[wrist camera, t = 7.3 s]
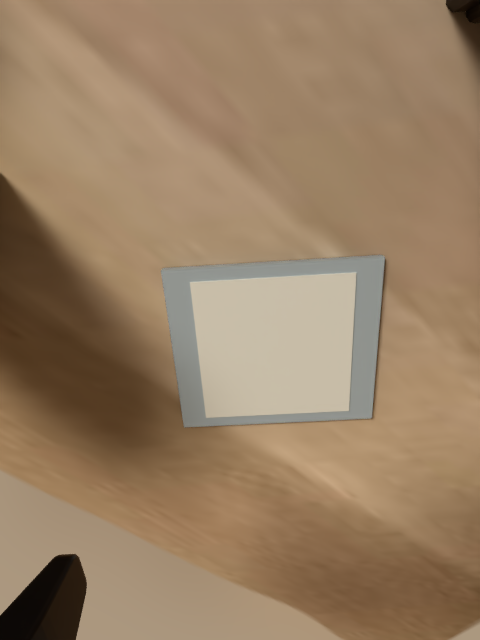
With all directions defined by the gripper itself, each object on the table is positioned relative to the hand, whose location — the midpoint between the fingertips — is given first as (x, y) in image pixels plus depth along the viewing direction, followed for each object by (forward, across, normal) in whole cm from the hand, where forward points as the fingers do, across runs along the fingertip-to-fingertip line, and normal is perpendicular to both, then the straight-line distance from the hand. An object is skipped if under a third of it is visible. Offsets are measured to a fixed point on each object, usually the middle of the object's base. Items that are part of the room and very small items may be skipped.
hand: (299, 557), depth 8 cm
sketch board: (+9, 0, 0) cm, 9 cm away
